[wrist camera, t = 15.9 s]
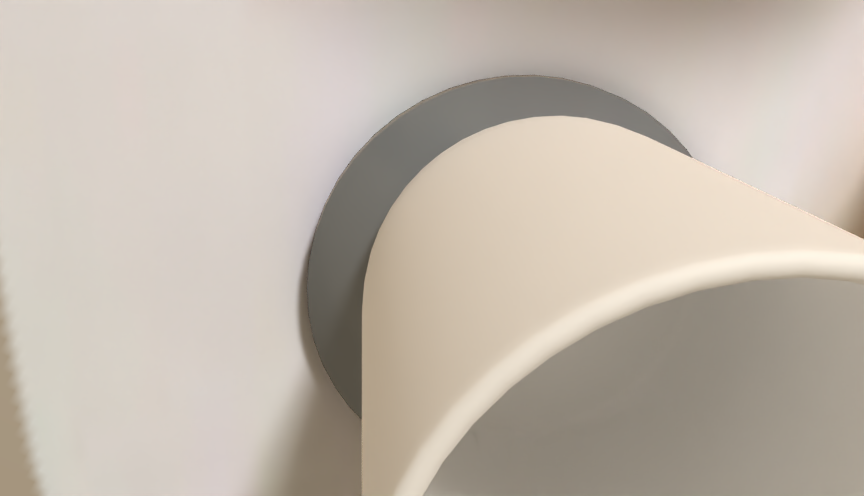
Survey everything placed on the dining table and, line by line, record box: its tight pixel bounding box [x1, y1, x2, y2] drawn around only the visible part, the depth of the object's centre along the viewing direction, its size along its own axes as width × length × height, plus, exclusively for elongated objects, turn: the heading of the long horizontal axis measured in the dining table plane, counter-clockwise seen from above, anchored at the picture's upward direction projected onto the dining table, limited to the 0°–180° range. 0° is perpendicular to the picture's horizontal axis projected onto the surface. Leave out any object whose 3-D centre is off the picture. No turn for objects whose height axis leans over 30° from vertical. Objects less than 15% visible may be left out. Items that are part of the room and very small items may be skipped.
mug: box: [362, 116, 864, 496], centre depth 14 cm, size 12×8×10 cm
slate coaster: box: [307, 75, 692, 419], centre depth 19 cm, size 10×10×1 cm
